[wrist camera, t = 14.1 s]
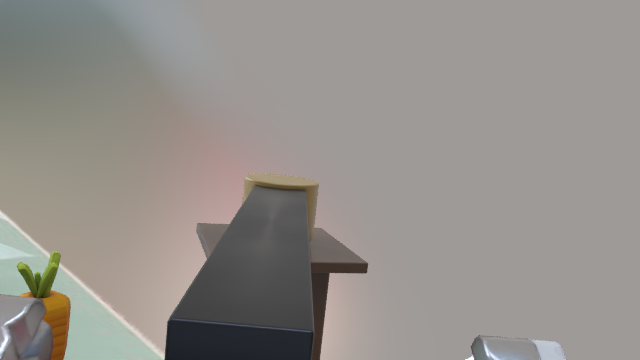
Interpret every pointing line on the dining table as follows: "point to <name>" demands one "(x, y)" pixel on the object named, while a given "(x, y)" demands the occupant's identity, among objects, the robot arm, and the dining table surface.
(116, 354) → the dining table surface
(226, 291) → the rod
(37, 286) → the carrot
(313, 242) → the stand
